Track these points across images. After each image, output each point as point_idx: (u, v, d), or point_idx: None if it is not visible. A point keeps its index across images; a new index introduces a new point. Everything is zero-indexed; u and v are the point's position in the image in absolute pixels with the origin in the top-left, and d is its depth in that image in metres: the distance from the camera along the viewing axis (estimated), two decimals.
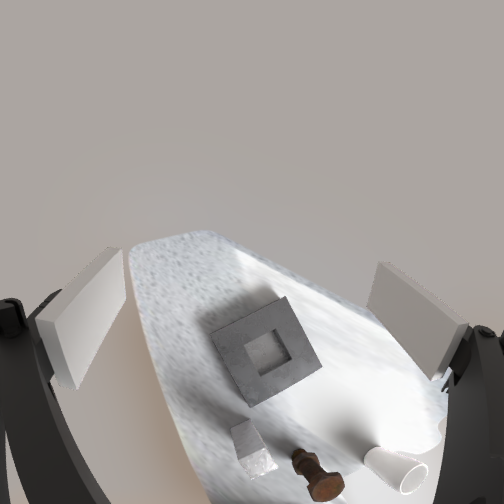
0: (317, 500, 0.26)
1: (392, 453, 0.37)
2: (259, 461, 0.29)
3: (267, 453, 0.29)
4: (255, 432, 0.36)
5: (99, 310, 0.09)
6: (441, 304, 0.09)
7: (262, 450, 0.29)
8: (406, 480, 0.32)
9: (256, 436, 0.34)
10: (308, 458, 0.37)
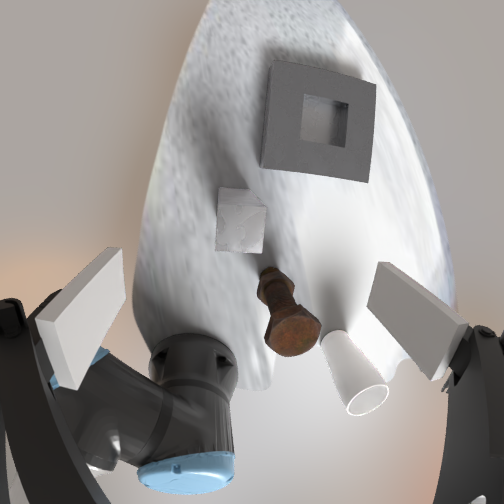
0: (271, 344, 0.26)
1: (360, 350, 0.39)
2: (244, 225, 0.23)
3: (263, 219, 0.23)
4: (254, 196, 0.29)
5: (99, 310, 0.09)
6: (441, 304, 0.09)
7: (259, 209, 0.23)
8: None
9: (254, 198, 0.28)
10: (284, 283, 0.35)
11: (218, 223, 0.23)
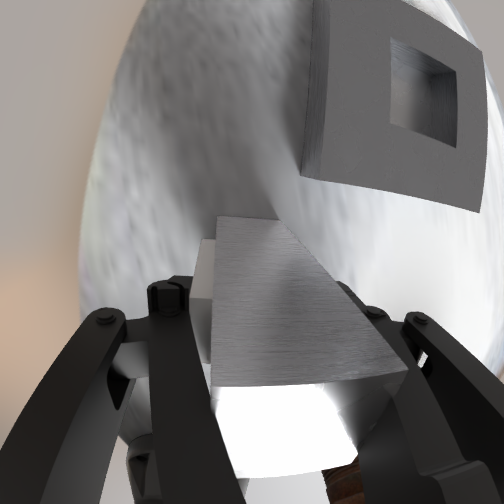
0: None
1: None
2: (316, 432, 0.05)
3: (385, 403, 0.05)
4: (310, 259, 0.11)
5: None
6: None
7: (384, 382, 0.05)
8: None
9: (319, 274, 0.10)
10: None
11: None
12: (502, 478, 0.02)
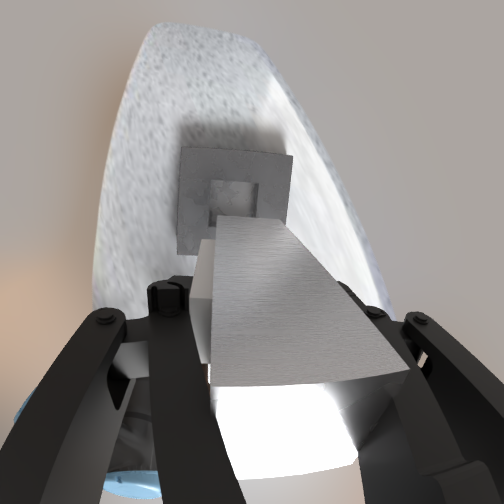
0: None
1: None
2: (317, 432, 0.05)
3: (386, 403, 0.05)
4: (310, 258, 0.11)
5: None
6: None
7: (385, 381, 0.05)
8: None
9: (319, 273, 0.09)
10: None
11: None
12: (502, 478, 0.02)
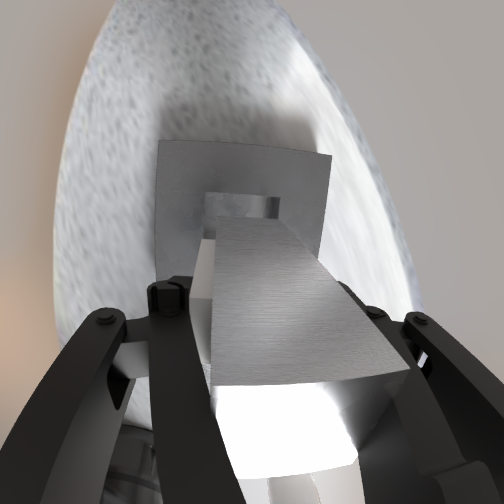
0: None
1: None
2: (317, 431, 0.05)
3: (386, 402, 0.05)
4: (310, 257, 0.11)
5: None
6: None
7: (385, 381, 0.05)
8: None
9: (319, 273, 0.10)
10: None
11: None
12: (502, 478, 0.02)
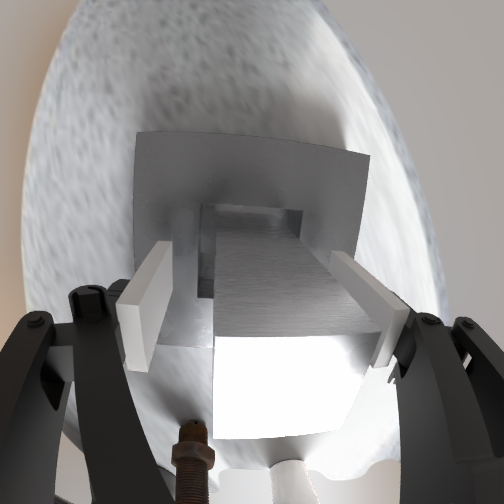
0: None
1: (310, 492, 0.25)
2: (304, 387, 0.06)
3: (363, 364, 0.06)
4: (301, 247, 0.12)
5: (160, 297, 0.11)
6: (384, 290, 0.10)
7: (359, 341, 0.06)
8: None
9: (308, 259, 0.11)
10: (199, 459, 0.21)
11: (220, 389, 0.06)
12: None
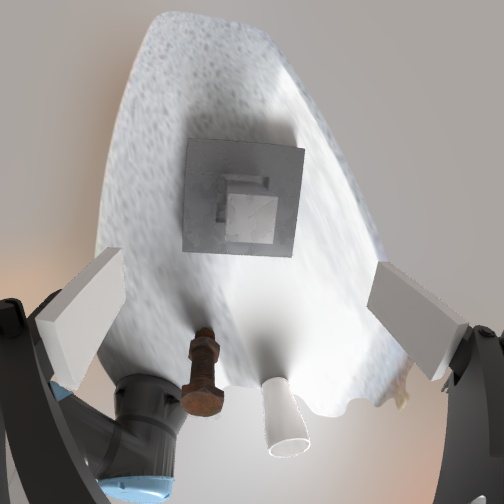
0: (183, 408, 0.29)
1: (292, 400, 0.42)
2: (255, 215, 0.23)
3: (274, 209, 0.23)
4: (263, 188, 0.29)
5: (99, 310, 0.09)
6: (441, 304, 0.09)
7: (270, 199, 0.23)
8: None
9: (264, 189, 0.27)
10: (209, 348, 0.38)
11: (229, 213, 0.23)
12: None
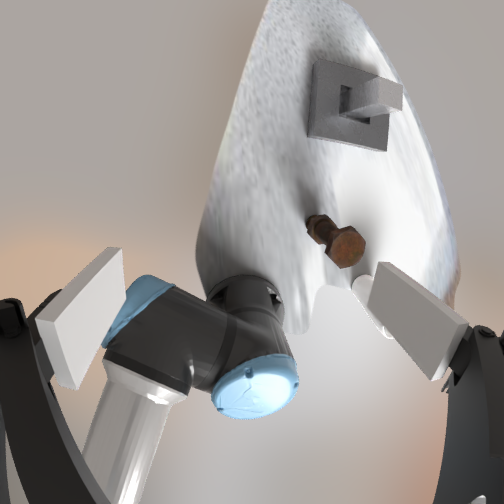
0: (331, 255, 0.35)
1: None
2: (392, 92, 0.29)
3: (401, 91, 0.29)
4: None
5: (99, 310, 0.09)
6: (441, 304, 0.09)
7: (399, 85, 0.29)
8: None
9: None
10: (330, 222, 0.44)
11: (379, 87, 0.29)
12: None
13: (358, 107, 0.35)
